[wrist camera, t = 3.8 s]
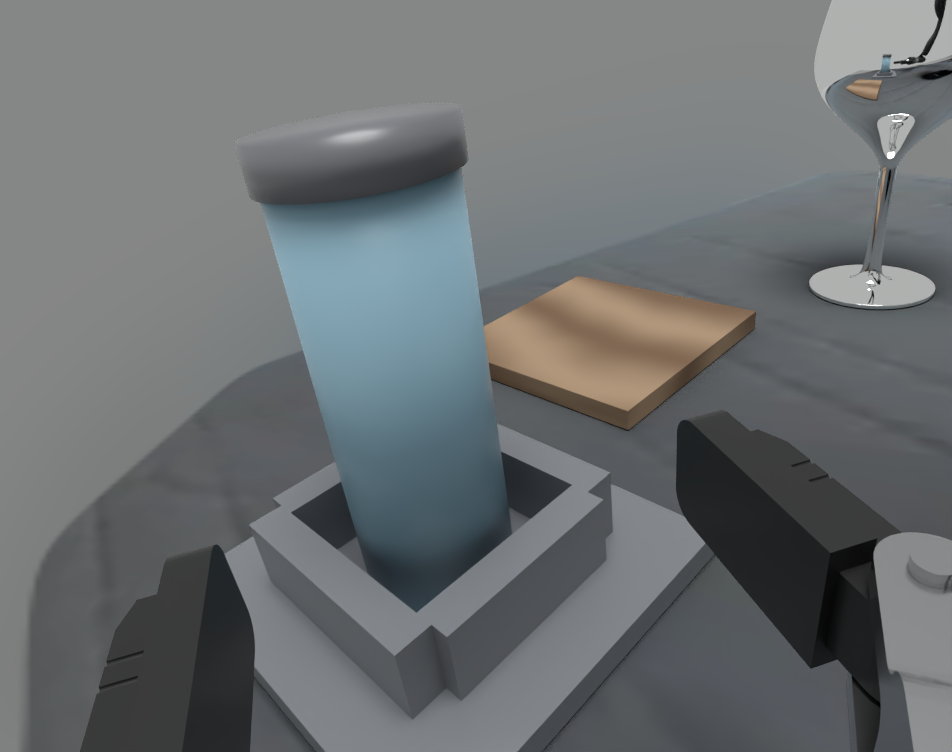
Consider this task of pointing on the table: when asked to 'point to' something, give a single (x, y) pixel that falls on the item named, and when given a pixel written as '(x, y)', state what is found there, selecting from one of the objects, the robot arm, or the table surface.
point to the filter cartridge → (390, 330)
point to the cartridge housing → (460, 612)
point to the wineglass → (884, 120)
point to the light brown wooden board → (610, 346)
